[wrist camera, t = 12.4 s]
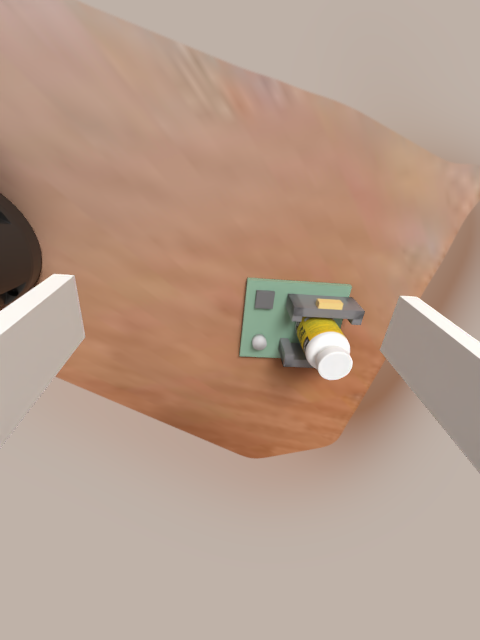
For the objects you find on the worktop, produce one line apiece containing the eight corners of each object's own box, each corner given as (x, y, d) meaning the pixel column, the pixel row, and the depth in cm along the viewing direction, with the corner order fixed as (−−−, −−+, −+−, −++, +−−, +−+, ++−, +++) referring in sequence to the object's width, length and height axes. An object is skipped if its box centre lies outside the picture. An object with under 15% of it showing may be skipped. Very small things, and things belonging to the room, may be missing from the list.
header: (278, 349, 45) (283, 366, 41) (288, 287, 40) (295, 301, 37) (336, 351, 46) (346, 369, 42) (353, 291, 41) (366, 305, 37)
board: (239, 353, 46) (240, 361, 44) (247, 277, 40) (248, 283, 38) (329, 357, 47) (334, 364, 45) (349, 284, 41) (355, 289, 40)
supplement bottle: (290, 313, 42) (308, 353, 33) (329, 302, 42) (357, 341, 33) (297, 344, 45) (316, 389, 36) (334, 335, 44) (361, 378, 36)
